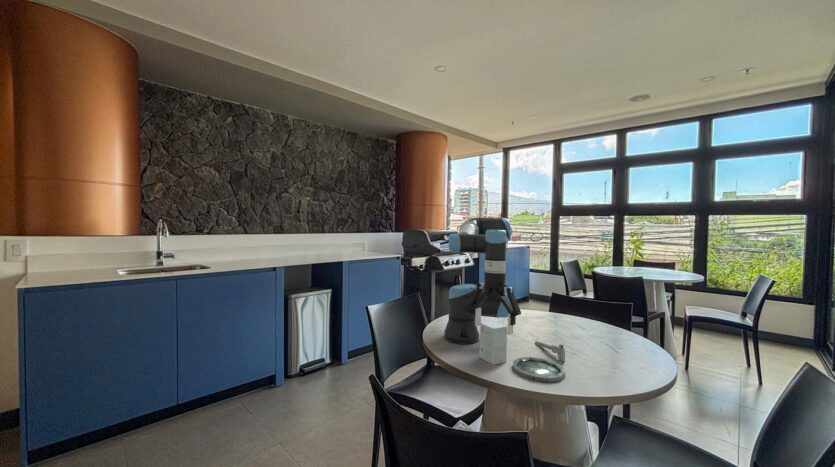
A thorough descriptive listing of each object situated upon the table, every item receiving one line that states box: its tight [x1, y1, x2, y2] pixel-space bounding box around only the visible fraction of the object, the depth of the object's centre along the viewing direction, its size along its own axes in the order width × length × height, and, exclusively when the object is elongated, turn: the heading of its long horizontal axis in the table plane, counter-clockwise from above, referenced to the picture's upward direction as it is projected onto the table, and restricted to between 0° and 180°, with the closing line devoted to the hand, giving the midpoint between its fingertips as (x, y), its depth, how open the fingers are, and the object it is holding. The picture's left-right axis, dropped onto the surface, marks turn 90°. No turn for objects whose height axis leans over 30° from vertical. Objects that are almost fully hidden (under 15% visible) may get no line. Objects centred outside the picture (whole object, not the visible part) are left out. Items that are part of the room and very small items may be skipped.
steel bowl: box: [512, 356, 566, 384], centre depth 114 cm, size 16×16×2 cm
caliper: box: [534, 340, 566, 363], centre depth 132 cm, size 20×1×6 cm, turn 9°
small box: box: [479, 321, 508, 365], centre depth 123 cm, size 8×6×13 cm
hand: (493, 329), depth 122 cm, fingers open, 13 cm apart
